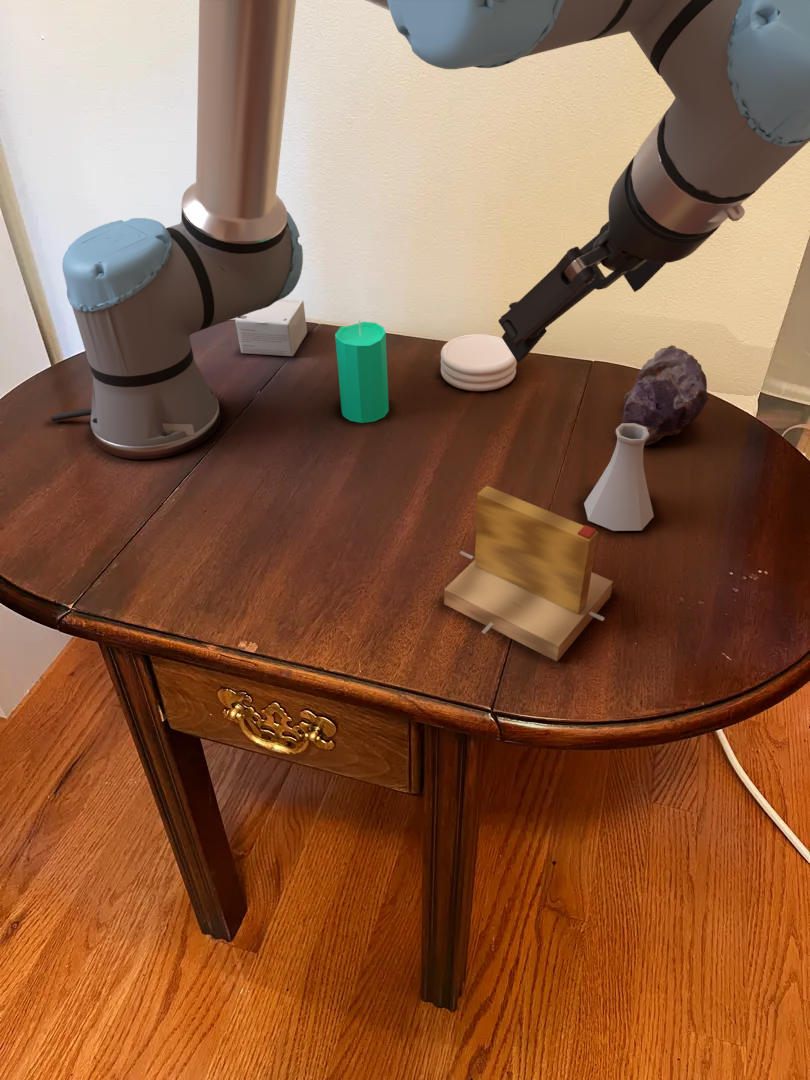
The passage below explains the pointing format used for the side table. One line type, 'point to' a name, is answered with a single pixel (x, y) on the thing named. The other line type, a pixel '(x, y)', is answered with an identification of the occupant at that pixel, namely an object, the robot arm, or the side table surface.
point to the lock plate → (523, 609)
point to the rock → (666, 394)
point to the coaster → (477, 362)
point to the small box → (273, 329)
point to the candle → (362, 371)
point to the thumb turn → (534, 548)
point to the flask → (623, 485)
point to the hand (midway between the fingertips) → (572, 312)
